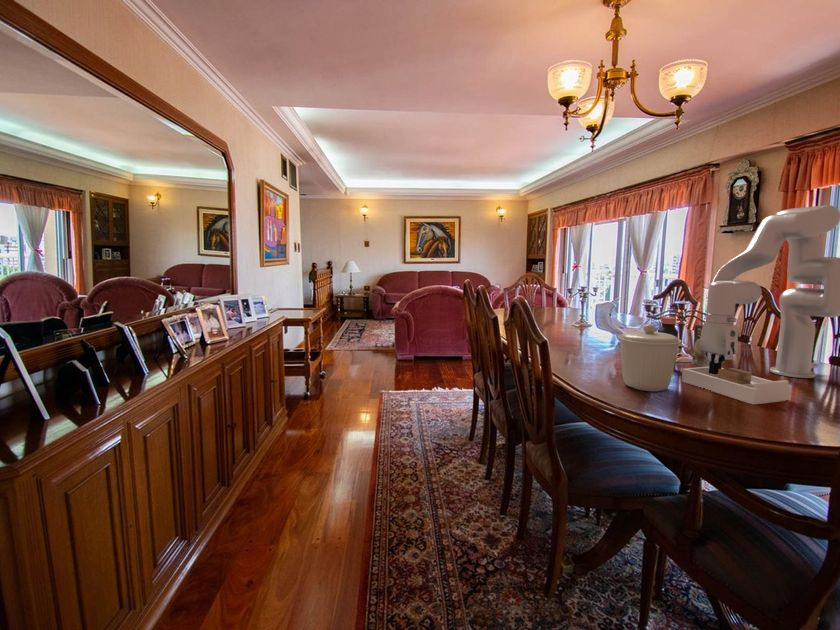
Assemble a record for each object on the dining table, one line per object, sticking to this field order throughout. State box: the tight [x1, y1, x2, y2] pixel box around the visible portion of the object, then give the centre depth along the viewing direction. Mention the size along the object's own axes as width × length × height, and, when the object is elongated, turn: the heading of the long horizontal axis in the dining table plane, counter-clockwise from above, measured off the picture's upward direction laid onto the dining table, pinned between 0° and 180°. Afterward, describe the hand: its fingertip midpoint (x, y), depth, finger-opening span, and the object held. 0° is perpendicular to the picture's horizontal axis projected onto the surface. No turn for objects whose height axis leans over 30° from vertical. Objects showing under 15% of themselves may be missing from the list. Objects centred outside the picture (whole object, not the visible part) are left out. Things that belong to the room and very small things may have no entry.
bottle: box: [657, 316, 679, 372], centre depth 158 cm, size 7×7×20 cm
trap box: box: [681, 366, 791, 405], centre depth 133 cm, size 14×24×6 cm, turn 15°
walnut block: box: [718, 367, 753, 384], centre depth 132 cm, size 6×6×4 cm
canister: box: [617, 323, 683, 392], centre depth 135 cm, size 18×18×21 cm
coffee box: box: [691, 324, 723, 368], centre depth 162 cm, size 9×6×16 cm
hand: (714, 373), depth 138 cm, fingers closed
